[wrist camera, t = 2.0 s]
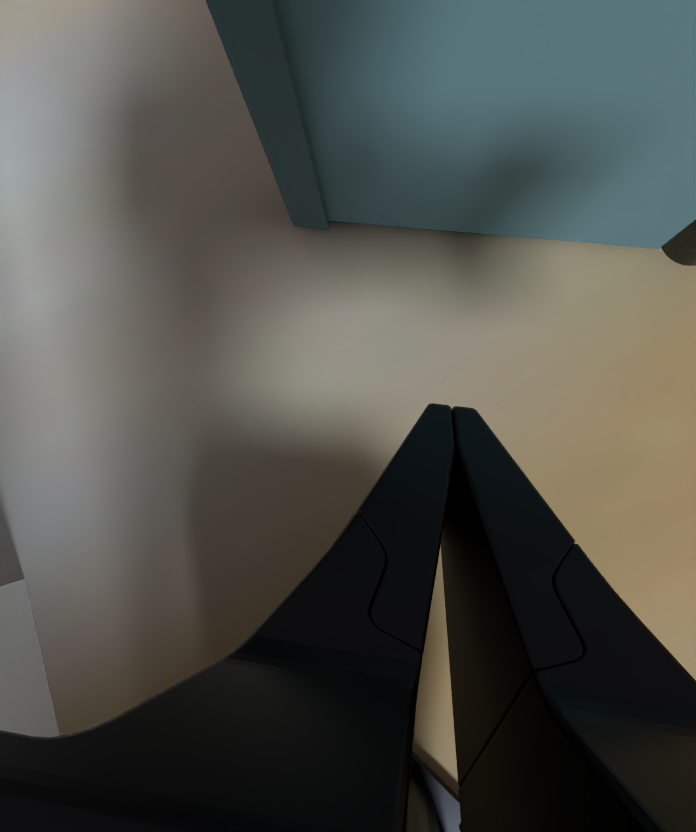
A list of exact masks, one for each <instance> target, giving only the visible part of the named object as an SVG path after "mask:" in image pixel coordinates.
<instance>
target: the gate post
mask: <svg viewBox="0 0 696 832" xmlns="http://www.w3.org/2000/svg"><path fill="white" fill-rule="evenodd" d="M662 248H663V250H664V252H665V253H666V255H667V256H668V257H669V258H670V259H672V260H673V261H675V262H677V263H679V264H682V265H688V266H692V265H696V220H694V221H693V222H692V223H690V224H689V225H688V226H687V227H685V228H684V229H683V230H682V231H680V232H679V233H678V234H677V235H675V236H674V237H673V238H671V239H670V240H669V241H668V242H666V243H665V244H664V245H663V246H662Z"/></svg>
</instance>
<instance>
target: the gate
mask: <svg viewBox="0 0 696 832" xmlns="http://www.w3.org/2000/svg"><path fill="white" fill-rule="evenodd" d="M206 2H207V5H208V8H209V10H210V13H211V15H212V18H213V20H214V23H215V25H216V28H217V31H218V33H219V36H220V38H221V41H222V43H223V46H224V48H225V51H226V54H227V56H228V59H229V61H230V64H231V66H232V69H233V71H234V74H235V77H236V79H237V82H238V84H239V87H240V89H241V92H242V94H243V97H244V100H245V102H246V105H247V107H248V110H249V112H250V115H251V117H252V120H253V123H254V125H255V128H256V130H257V133H258V135H259V138H260V140H261V143H262V146H263V148H264V151H265V153H266V156H267V158H268V161H269V163H270V166H271V169H272V171H273V174H274V176H275V179H276V181H277V184H278V186H279V189H280V192H281V194H282V197H283V199H284V202H285V204H286V207H287V209H288V212H289V215H290V217H291V220H292V222H293V225H294V226H299V227H310V228H322V229H328V228H329V221H339V222H351V223H363V224H374V225H386V226H398V227H409V228H421V229H433V230H445V231H456V232H468V233H480V234H492V235H503V236H515V237H527V238H539V239H550V240H562V241H574V242H586V243H597V244H609V245H621V246H633V247H644V248H656V249H659V248H660V247H661V246H663V245H664V244H665V243H666V242H668V241H669V240H670V239H671V238H673V237H674V236H675V235H677V234H678V233H679V232H680V231H682V230H683V229H684V228H685V227H687V226H688V225H689V224H690V223H692V222H693V221H694V220H696V0H206Z"/></svg>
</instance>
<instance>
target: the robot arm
mask: <svg viewBox="0 0 696 832" xmlns="http://www.w3.org/2000/svg"><path fill="white" fill-rule="evenodd" d="M574 543H575V540H574V539H573V537H572V536H571V535H570V533H569V532H568V531H567V529H566V528H565V527H564V525H563V524H562V523H561V521H560V520H559V519H558V517H557V516H556V515H555V513H554V512H553V511H552V510H551V508H550V507H549V506H548V504H547V503H546V502H545V500H544V499H543V498H542V496H541V495H540V494H539V492H538V491H537V490H536V488H535V487H534V486H533V484H532V483H531V482H530V480H529V479H528V478H527V477H526V475H525V474H524V473H523V471H522V470H521V469H520V467H519V466H518V465H517V463H516V462H515V461H514V459H513V458H512V457H511V455H510V454H509V453H508V451H507V450H506V449H505V447H504V446H503V445H502V443H501V442H500V441H499V440H498V438H497V437H496V436H495V434H494V433H493V432H492V430H491V429H490V428H489V426H488V425H487V424H486V422H485V421H484V420H483V418H482V417H481V416H480V414H479V413H478V412H477V411H476V410H475V409H473V408H467V407H458V406H455V407H453V408H452V409H451V407H450V406H448V405H441V404H433V403H432V404H429V405H428V406H427V407H426V409H425V410H424V412H423V413H422V415H421V416H420V418H419V419H418V421H417V422H416V424H415V425H414V427H413V428H412V430H411V431H410V433H409V434H408V435H407V437H406V438H405V440H404V441H403V443H402V444H401V446H400V447H399V449H398V450H397V452H396V453H395V455H394V456H393V458H392V459H391V461H390V462H389V464H388V465H387V467H386V468H385V470H384V471H383V473H382V474H381V476H380V477H379V479H378V480H377V481H376V483H375V484H374V486H373V487H372V489H371V490H370V492H369V493H368V495H367V496H366V498H365V499H364V501H363V502H362V504H361V505H360V507H359V508H358V510H357V512H356V513H355V514H354V515H353V517H352V518H351V520H350V521H349V523H348V524H347V526H346V527H345V528H344V530H343V531H342V533H341V534H340V535H339V537H338V538H337V539H336V541H335V542H334V543H333V545H332V546H331V548H330V549H329V550H328V551H327V552H326V554H325V555H324V556H323V557H322V558H321V559H320V561H319V562H318V563H317V564H316V565H315V567H314V568H313V569H312V570H311V571H310V572H309V573H308V575H307V576H306V577H305V578H304V579H303V580H302V581H301V582H300V583H299V584H298V585H297V586H296V588H295V589H294V590H293V591H292V592H291V593H290V594H289V595H288V596H287V597H286V598H285V600H284V601H283V602H282V603H281V604H280V605H279V606H278V607H277V608H276V609H275V610H274V612H273V613H272V614H271V615H270V616H269V617H268V618H267V619H266V620H265V621H264V622H263V624H262V625H261V626H260V627H259V628H258V629H257V630H256V631H255V632H254V633H253V634H252V635H251V636H250V637H249V638H248V639H247V640H246V641H245V642H244V643H243V644H241V645H240V646H239V647H238V648H237V649H235V650H234V651H233V652H232V653H230V654H229V655H227V656H226V657H224V658H223V659H221V660H220V661H218V662H216V663H214V664H213V665H211V666H209V667H207V668H205V669H203V670H201V671H200V672H198V673H196V674H194V675H192V676H190V677H189V678H187V679H185V680H183V681H181V682H179V683H177V684H176V685H174V686H172V687H170V688H168V689H166V690H165V691H163V692H161V693H159V694H157V695H155V696H154V697H152V698H150V699H148V700H146V701H144V702H142V703H141V704H139V705H137V706H135V707H133V708H131V709H130V710H128V711H126V712H124V713H122V714H120V715H118V716H117V717H115V718H113V719H111V720H109V721H107V722H105V723H102V724H100V725H98V726H96V727H94V728H91V729H88V730H84V731H81V732H78V733H74V734H71V735H63V736H56V737H36V736H28V735H23V734H18V733H13V732H7V731H2V730H0V832H696V680H695V679H694V678H693V677H692V676H691V675H690V674H689V673H688V672H687V671H686V670H685V668H684V667H683V666H682V665H681V664H680V663H679V662H678V661H677V660H676V659H675V658H674V656H673V655H672V654H671V653H670V652H669V651H668V650H667V649H666V648H665V647H664V645H663V644H662V643H661V642H660V641H659V640H658V639H657V638H656V637H655V636H654V635H653V633H652V632H651V631H650V630H649V629H648V628H647V627H646V626H645V625H644V624H643V623H642V621H641V620H640V619H639V618H638V617H637V616H636V615H635V614H634V612H633V611H632V610H631V609H630V608H629V607H628V606H627V604H626V603H625V602H624V601H623V600H622V599H621V598H620V596H619V595H618V594H617V593H616V592H615V591H614V590H613V588H612V587H611V586H610V585H609V583H608V582H607V581H606V580H605V578H604V577H603V576H602V575H601V573H600V572H599V571H598V570H597V568H596V567H595V566H594V565H593V563H592V562H591V561H590V559H589V558H588V557H587V555H586V554H585V553H584V551H583V550H582V549H581V548H580V546H579V545H578V544H574ZM440 544H441V554H442V568H443V581H444V595H445V609H446V622H447V636H448V649H449V663H450V677H451V690H452V704H453V718H454V731H455V745H456V758H457V772H458V784H459V786H460V788H459V797H458V796H457V795H456V794H455V793H454V792H453V791H452V790H451V789H450V788H449V787H448V786H447V785H446V784H445V783H444V782H443V781H442V780H441V779H440V778H439V777H438V776H437V775H436V774H435V773H434V772H433V771H432V770H431V769H430V768H429V767H428V766H427V765H426V764H425V763H424V762H423V761H422V760H421V759H420V758H419V757H418V756H417V755H416V754H415V753H414V752H413V751H412V749H413V737H414V725H415V712H416V701H417V692H418V684H419V677H420V670H421V663H422V655H423V651H424V645H425V638H426V632H427V626H428V619H429V613H430V607H431V601H432V594H433V588H434V582H435V576H436V569H437V563H438V557H439V550H440ZM460 822H461V825H459V824H460Z"/></svg>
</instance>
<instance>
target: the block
mask: <svg viewBox="0 0 696 832" xmlns="http://www.w3.org/2000/svg"><path fill="white" fill-rule="evenodd" d="M0 730H2V731H7V732H13V733H18V734H23V735H28V736H36V737H56V736H60V735H59V731H58V726H57V722H56V717H55V713H54V708H53V704H52V699H51V695H50V690H49V686H48V681H47V677H46V672H45V668H44V663H43V659H42V655H41V650H40V646H39V641H38V637H37V632H36V628H35V623H34V619H33V614H32V610H31V605H30V601H29V596H28V592H27V587H26V583H25V579H22V580H19V581H16V582H13V583H10V584H6V585H3V586H0Z"/></svg>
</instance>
